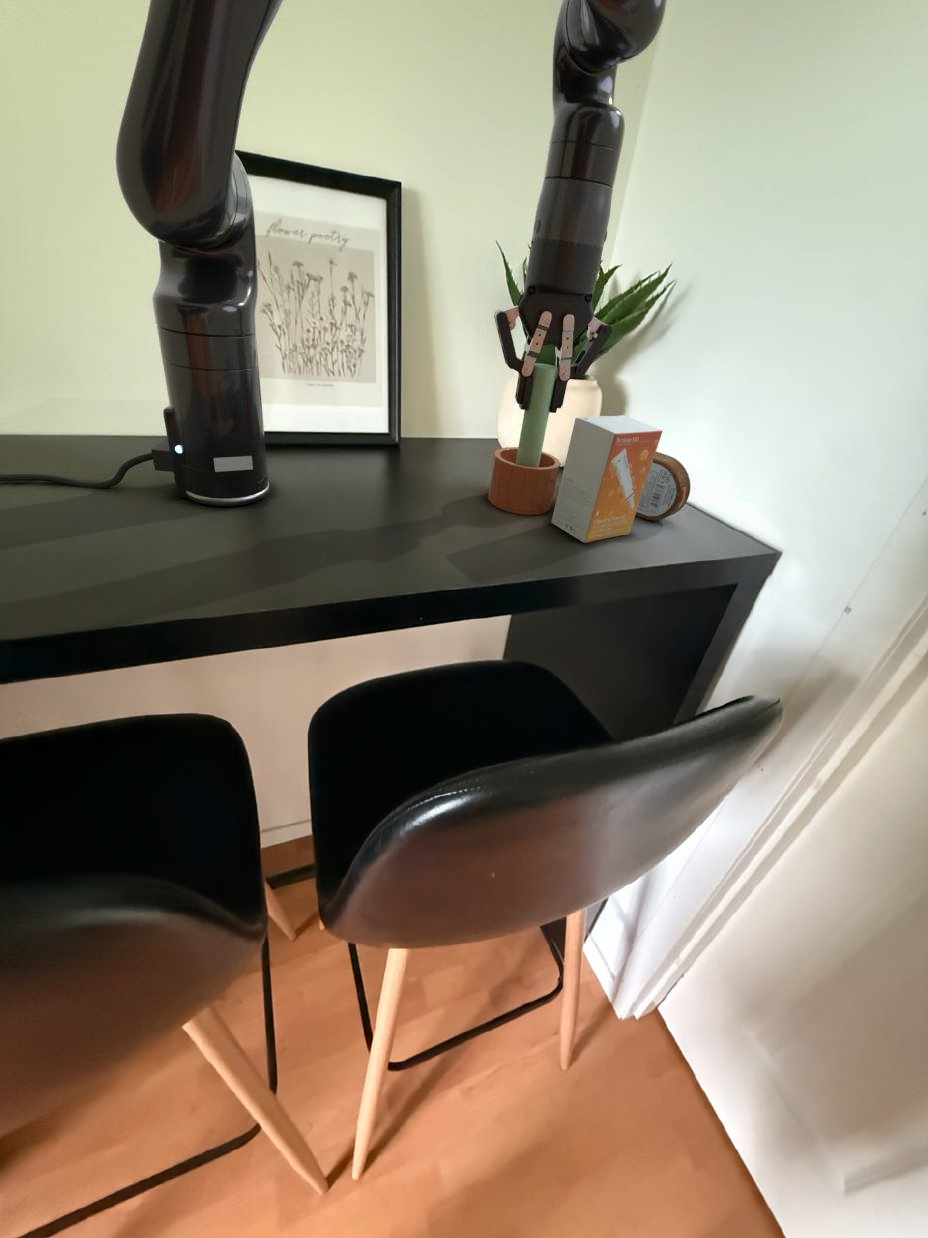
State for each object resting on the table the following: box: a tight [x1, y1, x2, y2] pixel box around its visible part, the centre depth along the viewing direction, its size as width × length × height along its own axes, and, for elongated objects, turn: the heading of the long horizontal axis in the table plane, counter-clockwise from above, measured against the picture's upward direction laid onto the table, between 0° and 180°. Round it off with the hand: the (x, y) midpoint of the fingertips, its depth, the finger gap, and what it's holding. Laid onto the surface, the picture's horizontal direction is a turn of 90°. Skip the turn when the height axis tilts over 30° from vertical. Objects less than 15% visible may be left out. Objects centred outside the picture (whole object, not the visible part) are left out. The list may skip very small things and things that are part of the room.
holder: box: [487, 446, 562, 516], centre depth 72 cm, size 8×8×6 cm
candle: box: [516, 362, 558, 468], centre depth 68 cm, size 3×3×12 cm
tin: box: [635, 450, 691, 521], centre depth 74 cm, size 15×3×8 cm, turn 47°
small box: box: [550, 414, 664, 544], centre depth 65 cm, size 8×6×13 cm
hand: (537, 409), depth 67 cm, fingers closed on candle, 3 cm apart
